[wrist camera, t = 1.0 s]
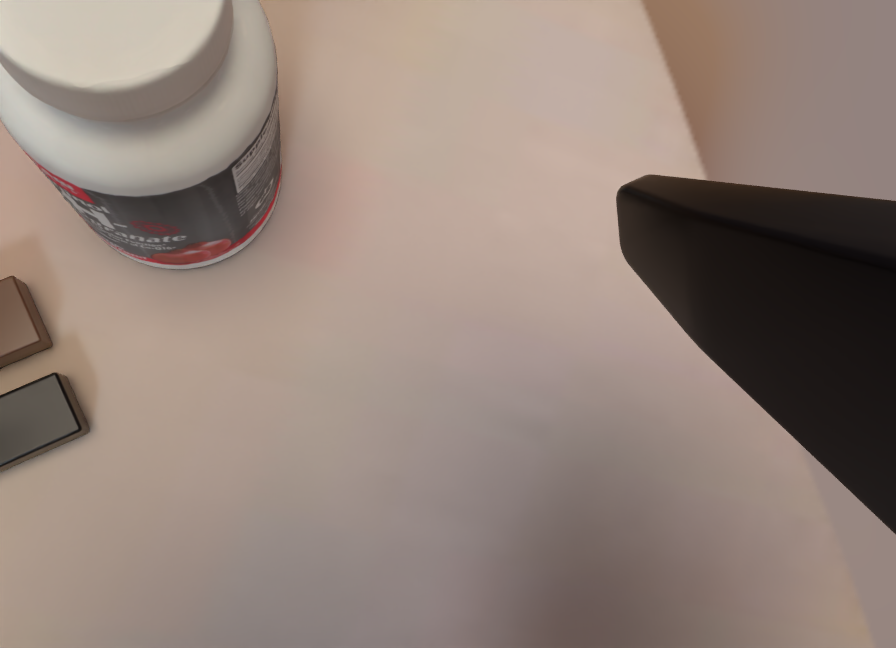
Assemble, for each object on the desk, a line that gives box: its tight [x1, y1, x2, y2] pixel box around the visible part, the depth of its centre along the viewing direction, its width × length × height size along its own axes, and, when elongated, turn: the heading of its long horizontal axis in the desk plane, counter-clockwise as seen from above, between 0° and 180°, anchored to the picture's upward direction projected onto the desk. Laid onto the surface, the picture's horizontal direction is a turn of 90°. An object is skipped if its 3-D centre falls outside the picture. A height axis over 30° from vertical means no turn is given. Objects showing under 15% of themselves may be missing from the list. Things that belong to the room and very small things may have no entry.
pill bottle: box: [0, 0, 282, 269], centre depth 18 cm, size 5×5×10 cm
